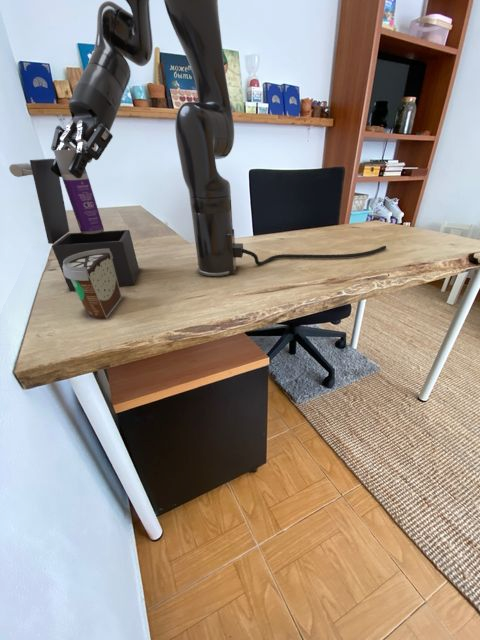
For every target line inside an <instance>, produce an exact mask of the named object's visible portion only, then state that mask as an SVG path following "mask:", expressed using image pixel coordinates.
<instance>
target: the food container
mask: <svg viewBox="0 0 480 640" xmlns="http://www.w3.org/2000/svg"><path fill="white" fill-rule="evenodd" d="M112 259H113V256H112V254H111V252H110V249H97V250H90V251H85V252H81V253H77V254H74V255H72V256H69V257H67V258H66V259H64V261H63V273H64V275H63V277H64V276H65V277H66V278H68V279H71V281H72V283H73V285H74V287H75V289H76V291H75V292H76V293H77V296H78V297H79V300H80V301H81V304H82V306H83V308H84V310H85V312H86V314H87V315H88V316H89V317H90V318H94V319H97V320H107V319H108V318H109V316H110V314H111V313H112V312H113V311H114V310H115V308H116V306H117V305H119V303H120V301H121V300H122V298H123V296H122V293H121V288H120V286H119V284H118V280H117V276H116V272H115V268H114V264H113V261H112ZM63 273H62V274H63Z"/></svg>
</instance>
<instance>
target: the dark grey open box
mask: <svg viewBox="0 0 480 640" xmlns="http://www.w3.org/2000/svg"><path fill="white" fill-rule="evenodd" d="M51 248H52V251H53V253H54V255H55V259H56V260H57V263H58V266H59V268H60V271H61V273H62V276H63V277H64V280H65V283H66V285H67V288H68V291H69V292H77V291H76V289H75V287H74V285H73V283H72V281H71V279H68V278H66V277H65V276H64V273H63V261H64V259H66V258H67V257H69V256H72V255H74V254H77V253H81V252H85V251H90V250H97V249H110V252H111V254H112V256H113V259H112V261H113V264H114V268H115V272H116V276H117V280H118V284H119V287H130V286H135V283H136V280H137V277H138V273H139V270H140V267H139V263H138V259H137V255H136V251H135V248H134V243H133V239H132V235H131V230H130V229H119V230H117V229H116V230H104V231H103V232H100V233H95V234H82V233H81V232H68V233H67V234H65V235H64V236H63V237H61V238H60V239H59V240H57V241H56V242H55V243H53V244H52V245H51Z"/></svg>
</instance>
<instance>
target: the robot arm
mask: <svg viewBox="0 0 480 640" xmlns="http://www.w3.org/2000/svg"><path fill="white" fill-rule="evenodd" d="M125 1H126V3H127V5H128V6H129V8H130V10H131V13H130V12H129V11H127V10H126V9H124V8H123V7H122V6H120V5H119V4H117V3H115V2H113V1H111V0H106V1H104V2H102V3H101V4H100V5H99V7H98V10H97V16H96V17H97V18H96V19H97V20H96V34H95V35H96V36H95V43H94V48H93V52H92V54H91V56H90V58H89V60H88V63H87V65H86V67H85V69H84V70H83V71H82V72H81V75H80V77H79V78H78V81H77V83H76V85H75V87H74V90H73V92H72V94H71V97H70V99H69V101H68V105H67V106H68V110H69V112H70V115H71V119H70V120H69V121H68V123H67V124H66V127H65V128H63V127H62V126H61V125H60V124H58V125H57V126H56V127H55V130H54V134H53V138H52V144H51V146H50V150H51V151H52V152H54V151H53V150H77V153H78V154H75V155H74V157H73V160H72V162H71V164H70V167H69V172H70V173H71V174H73V175H74V176H75V177H76V178H81V177H82V175H83V172H84V170H85V169H86V168H87V165H88V164H90V163H92V161H93V159H94V161H98V160H99V159H100V158H101V156H102V155H103V153H104V152H105V150H106V148H107V147H108V145H109V144H110V142H111V141H112V139H113V136H114V135H113V134H112V133H111V129H112V127H113V125H114V122H115V119H116V118H117V116H118V113H119V110H120V108H121V104H122V101H123V97H124V94H125V92H126V90H127V87H128V85H129V83H130V80H131V76H132V73H131V67H130V65H129V62H128V61H130V62H131V63H133V64H135V65H136V66H139V67H145V66H146V65H148V64H149V62H150V61H151V59H152V55H153V50H154V49H153V48H154V43H153V42H154V41H153V30H152V29H153V28H152V22H151V21H152V20H151V7H150V0H125ZM218 1H219V0H163V2H164V6H165V9H166V13H167V15H168V18H169V21H170V24H171V26H172V28H173V30H174V33H175V35H176V38H177V39H178V42H179V45H180V46H181V48H182V50H183V53H184V54H185V57H186V59H187V61H188V64H189V66H190V70H191V72H192V75H193V80H194V85H195V89H196V95H197V101H186V102H184V103H183V104H182V105H181V106H180V107H179V108H178V110H177V112H176V116H175V122H174V123H175V124H174V125H175V126H174V129H175V138H176V145H177V151H178V157H179V161H180V167H181V173H182V178H183V181H184V183H185V186H186V188H187V190H188V197H189V203H190V211H191V220H192V227H193V228H192V229H193V233H194V241H195V242H194V243H195V249H196V257H197V265H198V273H199V274H200V275H202V276H206V277H223V276H224V277H225V276H228V275H235V272H236V270H237V258H238V259H239V258H240V259H242V258H243V255H244V254H246V255H248V256H251V257H252V258H253V260H254V263H255V264H256V265H257V266H263V265H265V264H267V263H270V262H272V261H274V260H278V259H346V258H356V257H363V256H368V255H373V254H376V253H379V252H382V251H384V250H386V249H387V245H382V246H380V247H378V248H375V249H371V250H366V251H362V252H356V253H343V254H296V253H295V254H291V253H290V254H286V253H285V254H284V253H283V254H275V255H272V256H270V257H267V258H266V259H265V260H263V261H260V260H259V257H258V255H257V254H256V253H255V252H253V251H251V250H248V249H245V248H244V243H237V242H236V239H235V237H236V236H235V229H234V228H233V227H234V226H233V210H232V209H233V208H232V195H231V184H230V181H229V180H228V179H226V178H224V177H223V176H222V175H221V174H220V173H219V171H218V168H217V163H216V162H217V161H216V160H222V159H225V158H226V157H228V156H229V154H231V152H232V149H233V147H234V143H235V125H234V124H235V123H234V116H233V111H232V105H231V100H230V94H229V93H230V92H229V88H228V82H227V75H226V68H225V59H224V52H223V42H222V41H223V40H222V34H221V33H222V31H221V23H220V14H219V13H220V12H219V3H218ZM127 60H128V61H127ZM72 144H73V145H72ZM74 146H75V147H74ZM54 159H55V160H54V162H53V164H52V167H51V170H52V172H54V173H55V174H56V175H57V176H59V177H60V178H62V176H61V173H60V169H59V166H58V163H57V160H56V157H55V158H54Z"/></svg>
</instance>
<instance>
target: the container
mask: <svg viewBox="0 0 480 640" xmlns="http://www.w3.org/2000/svg"><path fill="white" fill-rule="evenodd" d="M52 152H53V154H54V157H55V158H56V160H57V163H58V166H59V169H60V173H61V176H62V177H61V178H62V182H63V184H64V187H65V190H66V193H67V196H68V199H69V202H70V205H71V209H72V211H73V214H74V216H75V219H76V222H77V226H78V229H79V231H80V233H82V234H95V233H100V232H103V231H105V228H104V225H103V221H102V219H101V215H100V211H99V208H98V205H97V202H96V198H95V194H94V192H93V191H94V190H93V188H92V185H91V182H90V178H89V175H88V173H87V169H86V168H85V170H84V172H83V175H82V177H81V178H76V177H75V176H74V175H73V174H71V173H70V172H69V167H70V164H71V162H72V160H73V157H74V155H75V154H78V153H77V150H70V149H68V150H53V151H52Z"/></svg>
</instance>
